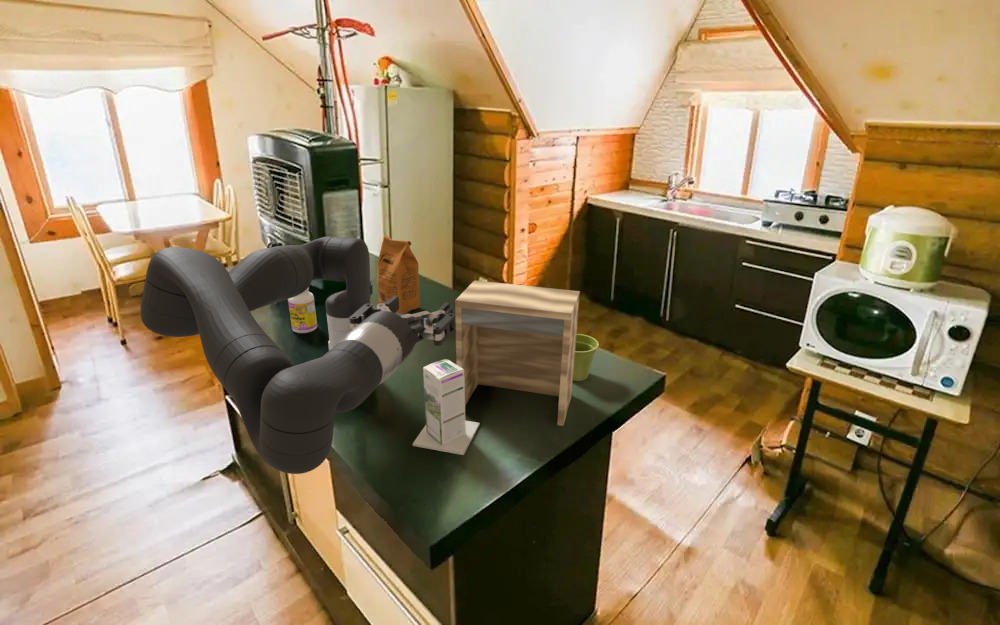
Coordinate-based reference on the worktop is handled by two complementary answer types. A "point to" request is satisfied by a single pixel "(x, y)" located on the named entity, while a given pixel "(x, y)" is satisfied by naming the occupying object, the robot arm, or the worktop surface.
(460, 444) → the mat
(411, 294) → the coffee package
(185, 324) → the robot arm
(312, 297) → the supplement bottle
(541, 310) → the hutch
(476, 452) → the worktop surface
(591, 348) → the plant pot
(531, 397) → the worktop surface
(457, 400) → the syrup box
